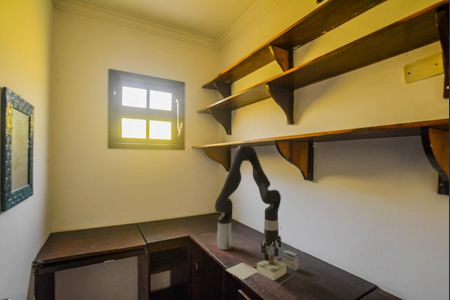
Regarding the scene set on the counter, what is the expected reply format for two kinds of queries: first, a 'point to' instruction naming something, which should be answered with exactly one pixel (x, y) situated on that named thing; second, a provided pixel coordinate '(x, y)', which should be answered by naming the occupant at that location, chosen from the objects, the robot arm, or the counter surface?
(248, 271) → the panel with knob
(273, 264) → the lid
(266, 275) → the cream square tray
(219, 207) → the robot arm
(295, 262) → the medicine box
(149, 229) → the counter surface
